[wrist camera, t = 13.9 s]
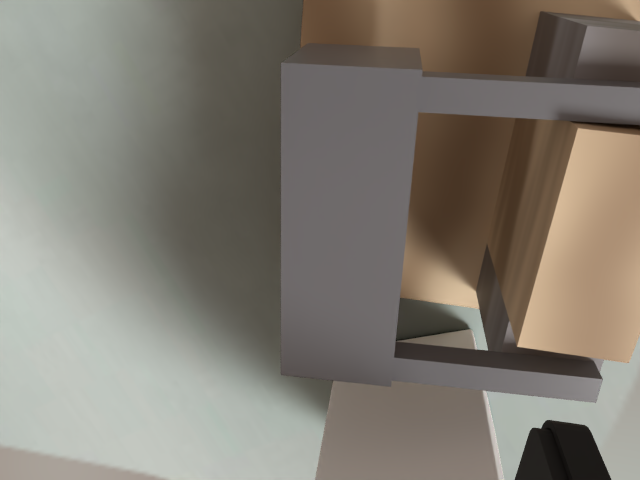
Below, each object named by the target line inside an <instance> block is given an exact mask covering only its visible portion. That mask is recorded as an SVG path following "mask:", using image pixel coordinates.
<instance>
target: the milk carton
mask: <svg viewBox="0 0 640 480" xmlns="http://www.w3.org/2000/svg"><path fill="white" fill-rule="evenodd" d="M396 342H406V343H416V344H426V345H436V346H446V347H456V348H466V349H476V350H477V346H476V342H475V338H474V334H473V331H472V330H471V329H468V330H462V331H456V332H450V333H443V334H437V335H431V336H425V337H419V338H413V339H407V340H400V341H396ZM315 480H504V476H503V471H502V465H501V460H500V455H499V450H498V444H497V439H496V434H495V429H494V424H493V419H492V415H491V410H490V406H489V401H488V396H487V392H486V391H483V390H473V389H464V388H455V387H446V386H436V385H427V384H418V383H409V382H399V381H392V383H391V387H387V386H378V385H369V384H360V383H350V382H341V381H333V384H332V390H331V395H330V401H329V406H328V412H327V417H326V423H325V428H324V434H323V439H322V445H321V450H320V456H319V461H318V467H317V472H316V478H315Z"/></svg>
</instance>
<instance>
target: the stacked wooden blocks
mask: <svg viewBox="0 0 640 480" xmlns="http://www.w3.org/2000/svg"><path fill="white" fill-rule="evenodd" d="M307 43H317V44H339V45H361V46H383V47H405V48H419V49H420V56H421V63H422V69H423V71H429V72H449V73H469V74H489V75H509V76H529V77H549V78H569V79H589V80H609V81H629V82H640V0H303V15H302V29H301V44H300V48H302V47H303V46H304V45H306V44H307ZM400 298H407V299H414V300H421V301H428V302H435V303H442V304H449V305H456V306H463V307H470V308H477V309H480V314H481V318H482V323H483V328H484V332H485V337H486V342H487V346H488V351H495V352H505V353H515V354H525V355H535V356H545V357H555V358H565V359H575V360H585V361H594V362H595V364H596V366H597V368H598V370H599V372H600V369H601V367H602V364H603V361H604V360H611V361H618V362H624V363H629V361H630V359H631V356H632V353H633V351H634V348H635V346H636V343H637V340H638V338H639V335H640V125H631V124H614V123H596V122H579V121H562V120H544V119H527V118H510V117H492V116H475V115H458V114H440V113H423V112H418V121H417V131H416V141H415V152H414V162H413V172H412V182H411V192H410V202H409V212H408V222H407V232H406V242H405V252H404V262H403V272H402V282H401V292H400Z"/></svg>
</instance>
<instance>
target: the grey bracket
mask: <svg viewBox="0 0 640 480" xmlns="http://www.w3.org/2000/svg"><path fill="white" fill-rule="evenodd" d="M418 112H423V113H440V114H458V115H475V116H492V117H510V118H527V119H544V120H562V121H579V122H596V123H614V124H631V125H640V82H629V81H609V80H589V79H569V78H549V77H529V76H509V75H489V74H469V73H449V72H429V71H423V69H422V63H421V56H420V49H419V48H405V47H383V46H361V45H339V44H317V43H307V44H306V45H304V46H303V47H302V48H300V49H299V50H298V51H296V52H295V53H294V54H292V55H291V56H290V57H288V58H287V59H285V60H284V61H283V62H281V375H286V376H296V377H305V378H314V379H323V380H332V381H341V382H350V383H360V384H369V385H378V386H387V387H391V383H392V381H399V382H409V383H418V384H427V385H436V386H446V387H455V388H464V389H473V390H483V391H492V392H501V393H510V394H520V395H529V396H538V397H547V398H557V399H566V400H575V401H584V402H594V403H596V401H597V398H598V394H599V391H600V387H601V384H602V380H603V379H602V377H601V375H600V373H599V370H598V368H597V366H596V364H595V362H594V361H585V360H575V359H565V358H555V357H545V356H535V355H525V354H515V353H505V352H495V351H485V350H476V349H466V348H456V347H446V346H436V345H426V344H416V343H406V342H396V333H397V323H398V312H399V302H400V292H401V282H402V272H403V262H404V252H405V242H406V232H407V222H408V212H409V202H410V192H411V182H412V172H413V162H414V152H415V141H416V131H417V121H418Z"/></svg>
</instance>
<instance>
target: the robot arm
mask: <svg viewBox="0 0 640 480" xmlns="http://www.w3.org/2000/svg"><path fill="white" fill-rule="evenodd" d="M515 480H611V478H610V475H609V473H608V471H607V468H606V466H605V464H604V461H603V459H602V457H601V454H600V452H599V450H598V447H597V445H596V443H595V440H594V438H593V436H592V433H591V432H590V430H589V428H588V427H587V426H585V425H580V424H573V423H566V422H559V421H552V420H547V421H545V423H544V424H543V426H542V428H541V429H540V428H532V429H531V430H530V433H529V436H528V439H527V442H526V445H525V448H524V452H523V455H522V458H521V461H520V465H519V468H518V471H517V474H516V477H515Z"/></svg>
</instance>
